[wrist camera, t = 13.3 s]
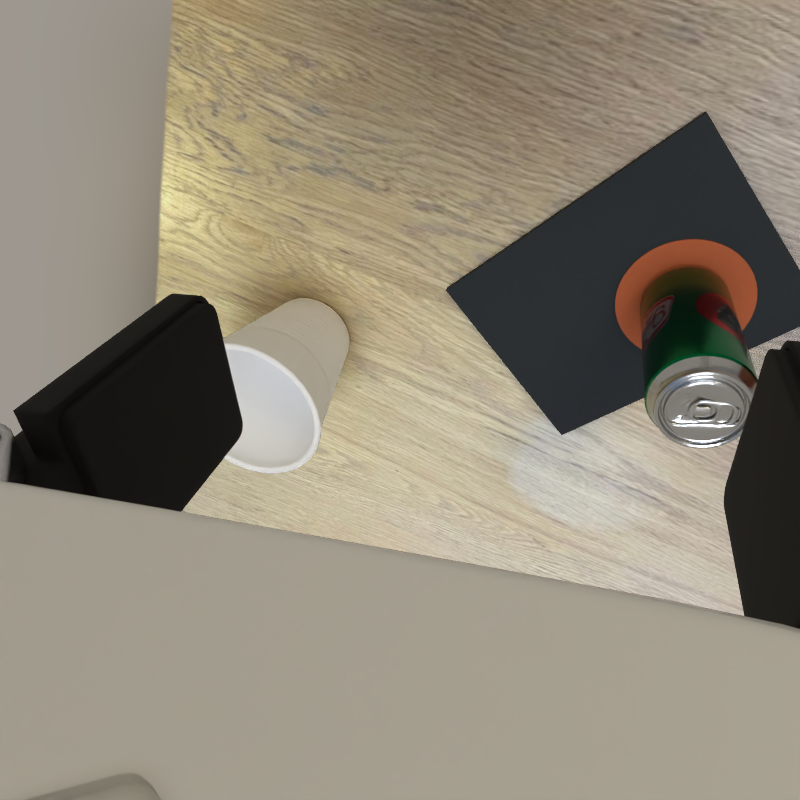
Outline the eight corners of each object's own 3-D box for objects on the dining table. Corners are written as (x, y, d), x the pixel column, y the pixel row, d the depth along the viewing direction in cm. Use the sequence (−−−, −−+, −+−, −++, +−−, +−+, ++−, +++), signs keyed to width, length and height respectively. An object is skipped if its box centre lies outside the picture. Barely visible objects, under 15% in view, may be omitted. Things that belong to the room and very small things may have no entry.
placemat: (705, 111, 34) (706, 113, 33) (824, 311, 37) (826, 315, 37) (446, 287, 43) (445, 291, 43) (562, 432, 47) (561, 436, 47)
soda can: (648, 259, 38) (656, 359, 29) (739, 266, 37) (780, 372, 27) (632, 334, 41) (636, 446, 32) (717, 342, 40) (747, 462, 30)
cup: (231, 322, 50) (150, 397, 42) (304, 244, 45) (227, 313, 36) (321, 407, 53) (262, 495, 44) (401, 343, 47) (351, 430, 38)
